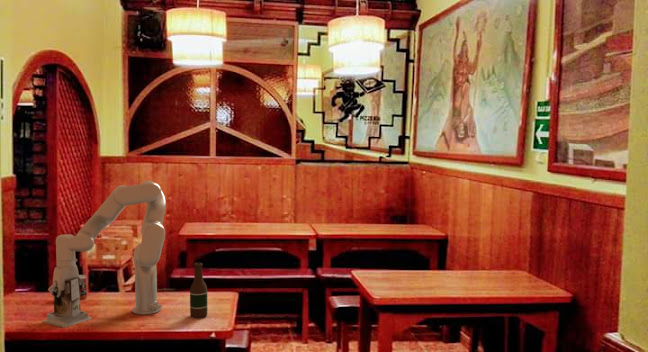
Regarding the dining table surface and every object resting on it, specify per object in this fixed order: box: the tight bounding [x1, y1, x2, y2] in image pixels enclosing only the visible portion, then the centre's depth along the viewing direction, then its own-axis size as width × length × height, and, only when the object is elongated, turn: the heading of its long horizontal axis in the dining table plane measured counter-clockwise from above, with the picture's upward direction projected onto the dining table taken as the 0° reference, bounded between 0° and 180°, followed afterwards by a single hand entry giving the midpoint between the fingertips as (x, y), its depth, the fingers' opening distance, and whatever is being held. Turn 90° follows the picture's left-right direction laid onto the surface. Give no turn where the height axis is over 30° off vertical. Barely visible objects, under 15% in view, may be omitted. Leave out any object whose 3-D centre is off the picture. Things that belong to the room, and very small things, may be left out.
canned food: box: [79, 274, 88, 301], centre depth 287 cm, size 8×8×11 cm
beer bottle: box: [189, 262, 208, 319], centre depth 259 cm, size 8×8×24 cm
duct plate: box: [42, 310, 93, 329], centre depth 253 cm, size 14×14×3 cm
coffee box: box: [53, 277, 82, 317], centre depth 252 cm, size 9×6×16 cm
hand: (67, 302), depth 253 cm, fingers closed on coffee box, 8 cm apart
